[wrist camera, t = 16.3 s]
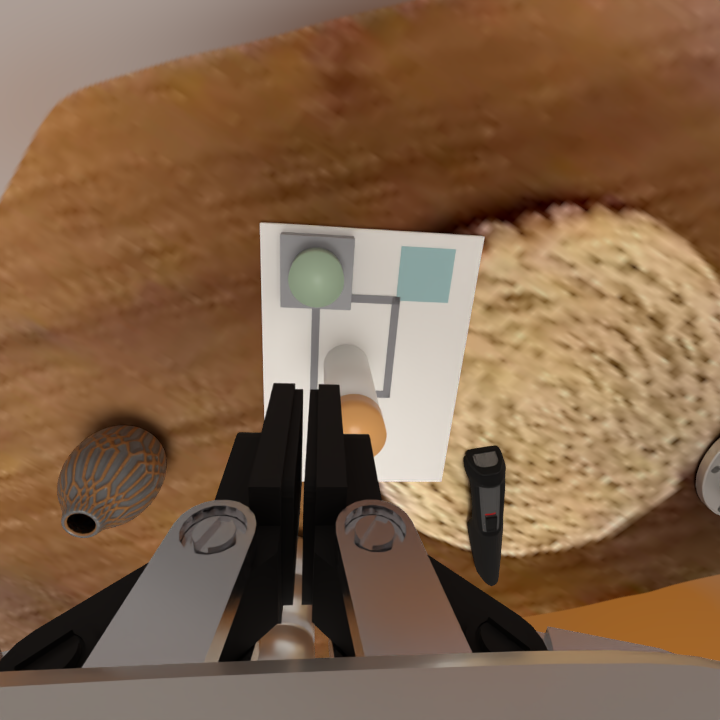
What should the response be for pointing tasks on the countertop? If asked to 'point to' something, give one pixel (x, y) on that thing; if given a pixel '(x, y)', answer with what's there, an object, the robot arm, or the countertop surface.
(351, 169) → the countertop surface
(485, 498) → the electric trimmer
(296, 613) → the plastic bottle
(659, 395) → the countertop surface
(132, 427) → the vase
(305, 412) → the sheet
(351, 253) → the button housing
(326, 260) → the button
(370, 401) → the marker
